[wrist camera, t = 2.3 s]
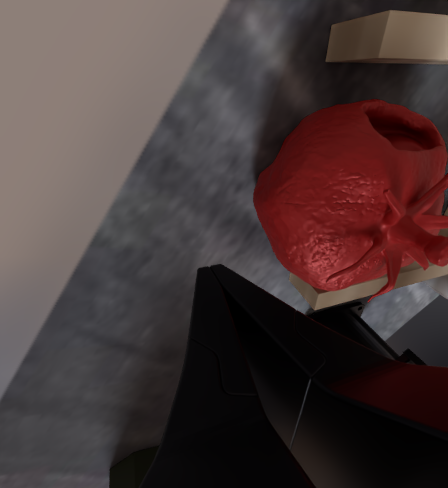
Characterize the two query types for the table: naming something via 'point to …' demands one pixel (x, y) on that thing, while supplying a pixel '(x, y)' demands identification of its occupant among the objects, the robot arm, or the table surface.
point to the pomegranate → (356, 195)
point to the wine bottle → (132, 469)
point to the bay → (386, 51)
